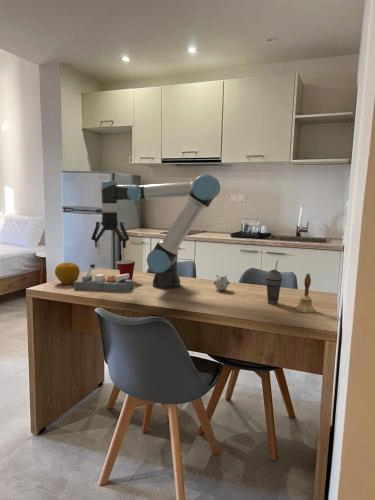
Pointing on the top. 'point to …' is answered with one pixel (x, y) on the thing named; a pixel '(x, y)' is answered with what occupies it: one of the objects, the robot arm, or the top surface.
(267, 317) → the top surface
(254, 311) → the top surface
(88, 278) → the lever
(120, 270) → the plastic cup
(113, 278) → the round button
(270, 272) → the beverage cup
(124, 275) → the rocker
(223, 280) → the grey spiky ball
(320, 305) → the top surface
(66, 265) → the apple
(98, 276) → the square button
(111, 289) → the grey tray
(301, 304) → the hand bell
